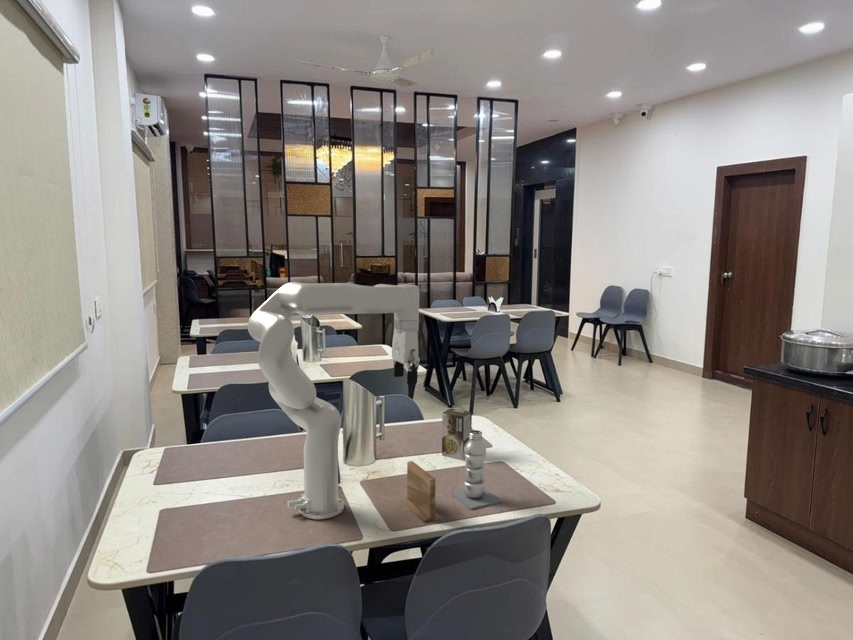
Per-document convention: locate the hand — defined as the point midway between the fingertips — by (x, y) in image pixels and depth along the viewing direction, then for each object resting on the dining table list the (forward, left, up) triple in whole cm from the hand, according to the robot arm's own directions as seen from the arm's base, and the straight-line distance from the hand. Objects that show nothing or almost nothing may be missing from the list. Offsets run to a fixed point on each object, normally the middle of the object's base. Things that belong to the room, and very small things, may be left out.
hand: (405, 379), depth 173 cm
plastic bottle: (+14, -19, -33) cm, 41 cm away
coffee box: (+27, +13, -34) cm, 46 cm away
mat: (+15, -19, -34) cm, 41 cm away
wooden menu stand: (-4, -18, -34) cm, 38 cm away
